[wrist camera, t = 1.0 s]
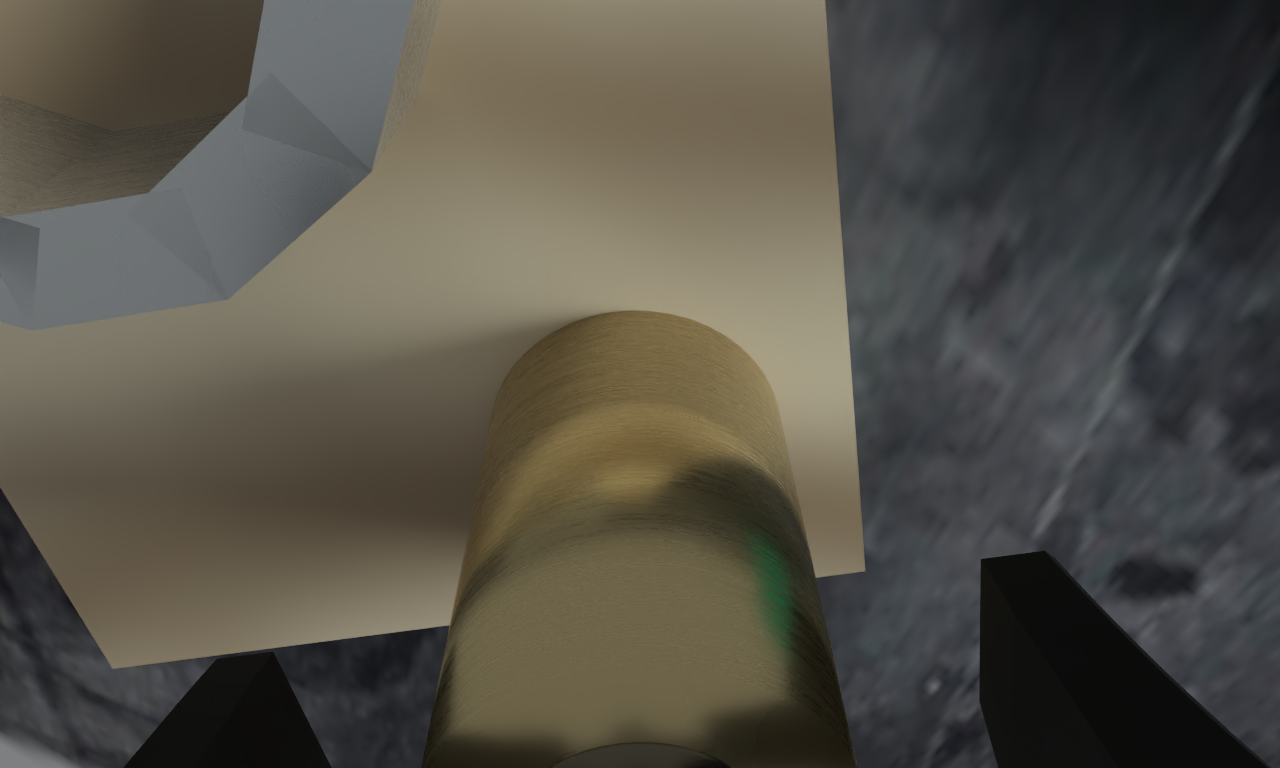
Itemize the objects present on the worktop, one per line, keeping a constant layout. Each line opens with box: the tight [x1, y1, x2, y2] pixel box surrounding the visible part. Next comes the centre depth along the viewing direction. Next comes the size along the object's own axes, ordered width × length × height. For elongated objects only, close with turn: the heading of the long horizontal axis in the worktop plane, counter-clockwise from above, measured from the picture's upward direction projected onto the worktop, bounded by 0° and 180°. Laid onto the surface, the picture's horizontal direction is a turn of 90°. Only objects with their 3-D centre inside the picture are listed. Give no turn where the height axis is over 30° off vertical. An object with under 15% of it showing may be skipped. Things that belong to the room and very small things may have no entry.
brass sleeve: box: [422, 311, 858, 768], centre depth 12 cm, size 4×4×6 cm
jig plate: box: [0, 0, 865, 669], centre depth 13 cm, size 16×12×1 cm
